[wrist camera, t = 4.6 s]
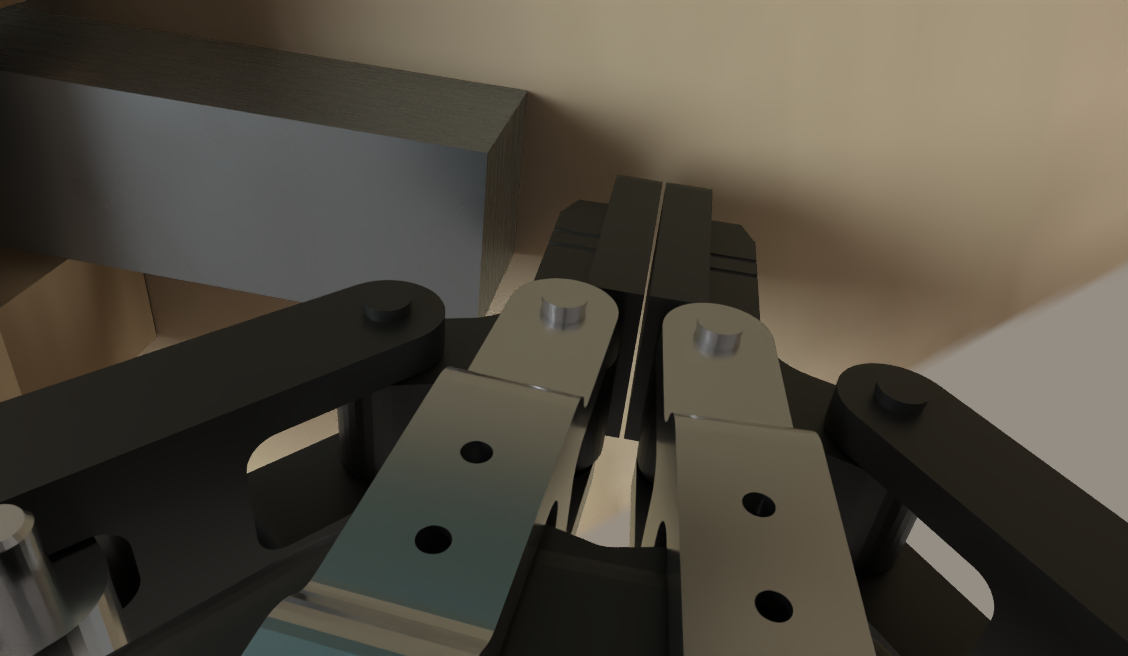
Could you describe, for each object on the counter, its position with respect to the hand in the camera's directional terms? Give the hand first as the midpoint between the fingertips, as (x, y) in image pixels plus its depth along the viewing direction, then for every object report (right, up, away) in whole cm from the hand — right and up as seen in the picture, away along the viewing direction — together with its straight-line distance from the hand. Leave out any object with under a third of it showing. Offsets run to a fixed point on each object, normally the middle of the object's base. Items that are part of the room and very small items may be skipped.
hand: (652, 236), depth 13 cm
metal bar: (-8, +2, +2) cm, 9 cm away
